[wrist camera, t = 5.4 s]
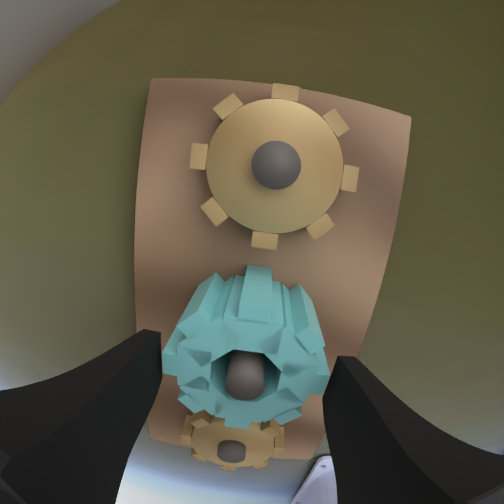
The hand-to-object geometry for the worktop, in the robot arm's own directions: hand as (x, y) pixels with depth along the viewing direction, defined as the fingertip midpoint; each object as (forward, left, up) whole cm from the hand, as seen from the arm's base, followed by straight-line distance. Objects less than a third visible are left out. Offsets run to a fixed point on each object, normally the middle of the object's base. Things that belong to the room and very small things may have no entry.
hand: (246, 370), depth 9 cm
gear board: (0, 0, -4) cm, 4 cm away
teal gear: (0, 0, -3) cm, 3 cm away
